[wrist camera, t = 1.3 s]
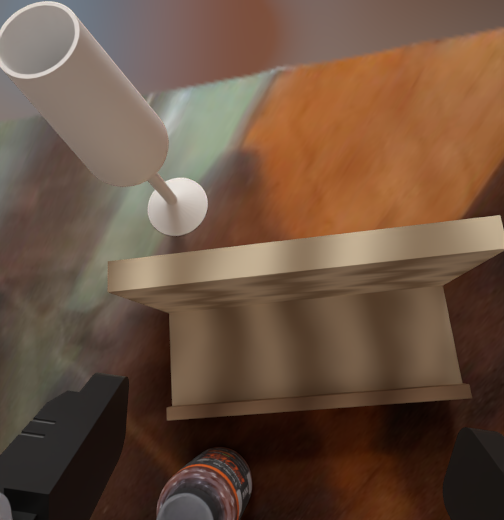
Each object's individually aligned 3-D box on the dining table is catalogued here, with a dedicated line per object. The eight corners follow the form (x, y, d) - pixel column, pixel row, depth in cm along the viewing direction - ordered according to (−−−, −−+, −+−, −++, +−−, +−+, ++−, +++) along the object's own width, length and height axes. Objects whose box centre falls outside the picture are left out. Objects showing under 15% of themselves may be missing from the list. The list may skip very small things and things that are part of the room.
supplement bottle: (262, 458, 38) (243, 498, 27) (241, 528, 36) (212, 599, 26) (201, 435, 39) (160, 463, 28) (179, 501, 38) (127, 558, 27)
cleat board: (425, 272, 40) (500, 215, 24) (448, 392, 37) (549, 415, 21) (181, 298, 42) (107, 261, 27) (185, 412, 39) (107, 445, 24)
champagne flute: (219, 191, 44) (121, 6, 21) (189, 246, 43) (53, 114, 20) (166, 168, 46) (21, -28, 23) (136, 221, 45) (-47, 71, 22)
